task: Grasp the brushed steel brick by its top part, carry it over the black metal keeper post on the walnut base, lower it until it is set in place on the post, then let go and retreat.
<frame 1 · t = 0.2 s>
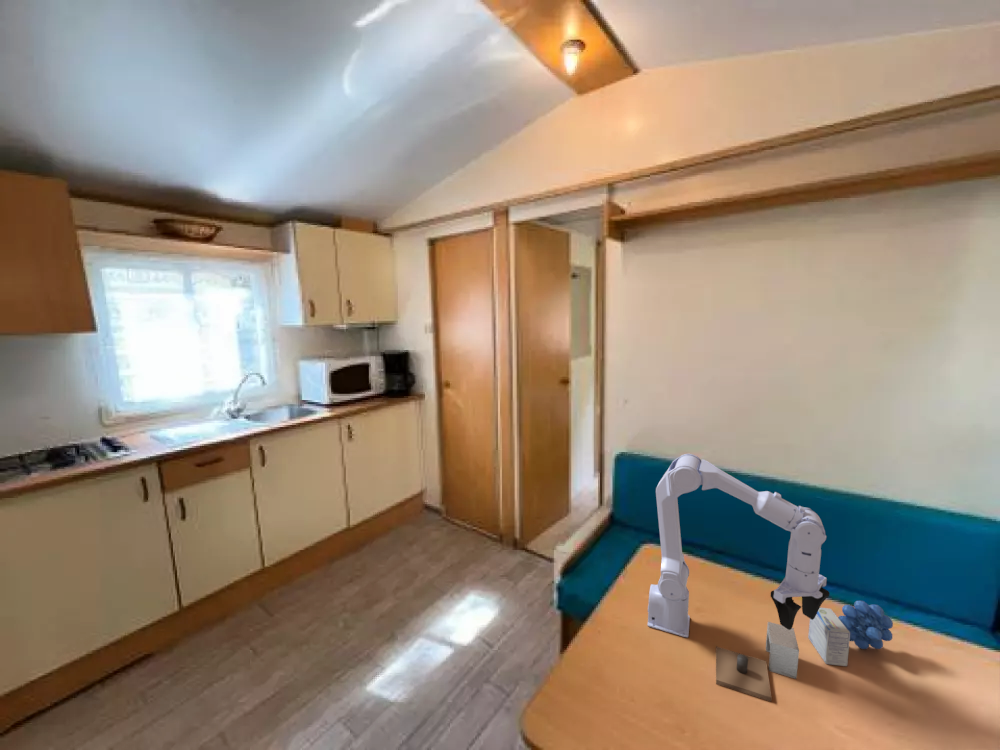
hand: (797, 621, 95), 10 cm above the table, tool pointing down, fingers open, 7 cm apart
medicine box: (826, 653, 99), on the table
brushed steel brick: (780, 663, 96), on the table
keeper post: (741, 674, 93), on the table
grapes: (865, 651, 99), on the table
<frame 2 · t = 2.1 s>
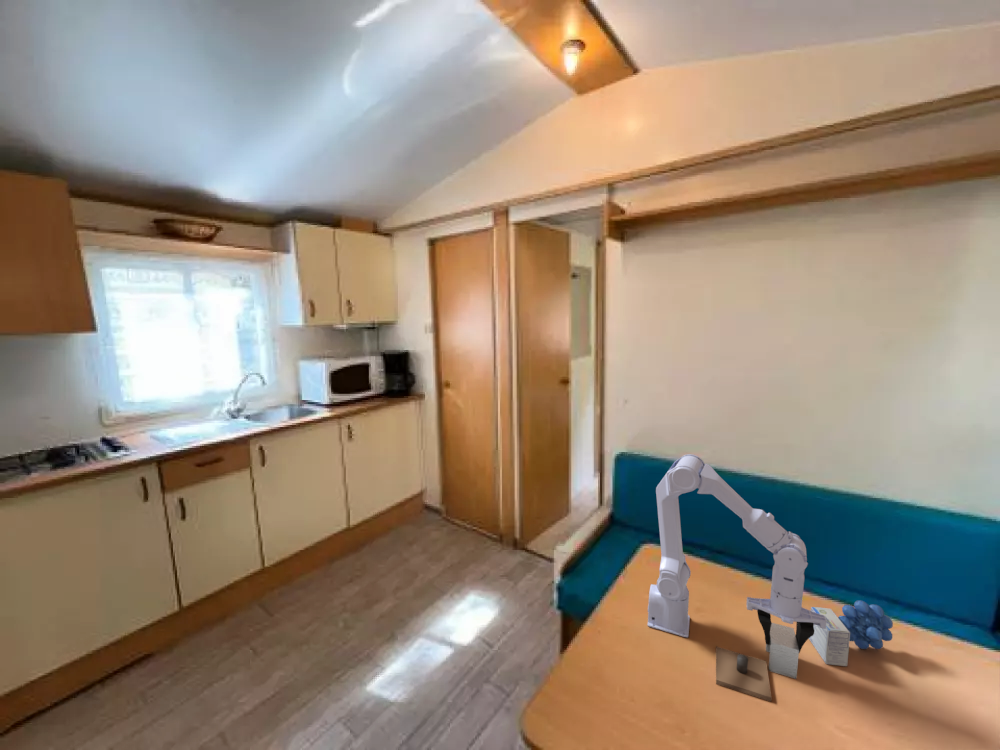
hand: (781, 645, 95), 4 cm above the table, tool pointing down, fingers closed on brushed steel brick, 5 cm apart
brushed steel brick: (780, 662, 96), on the table, touching gripper
everything else where it was.
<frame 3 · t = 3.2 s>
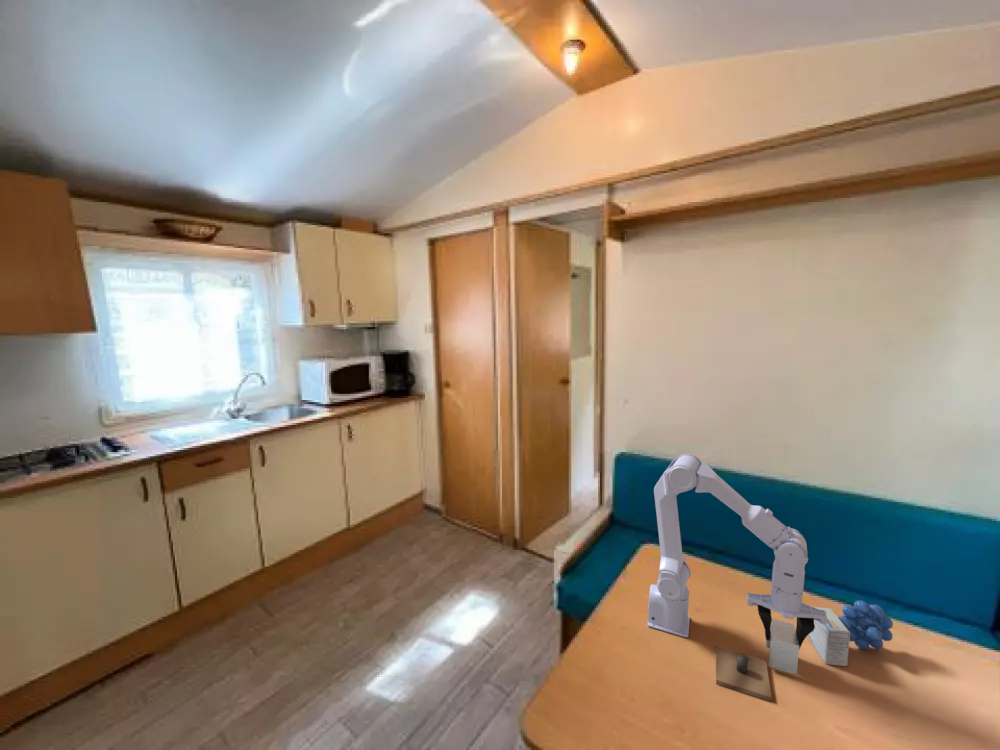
hand: (782, 641, 95), 5 cm above the table, tool pointing down, fingers closed on brushed steel brick, 5 cm apart
brushed steel brick: (780, 658, 96), point 1 cm above the table, touching gripper
everything else where it was.
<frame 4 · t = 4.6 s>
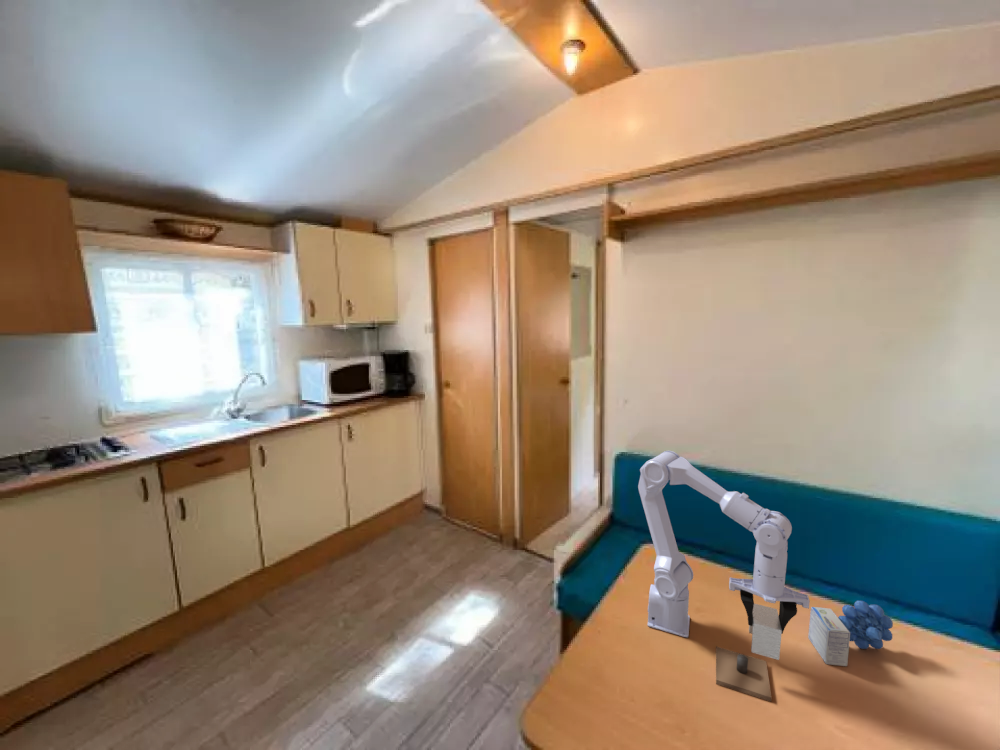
hand: (764, 626, 93), 10 cm above the table, tool pointing down, fingers closed on brushed steel brick, 5 cm apart
brushed steel brick: (763, 644, 94), point 6 cm above the table, touching gripper
everything else where it was.
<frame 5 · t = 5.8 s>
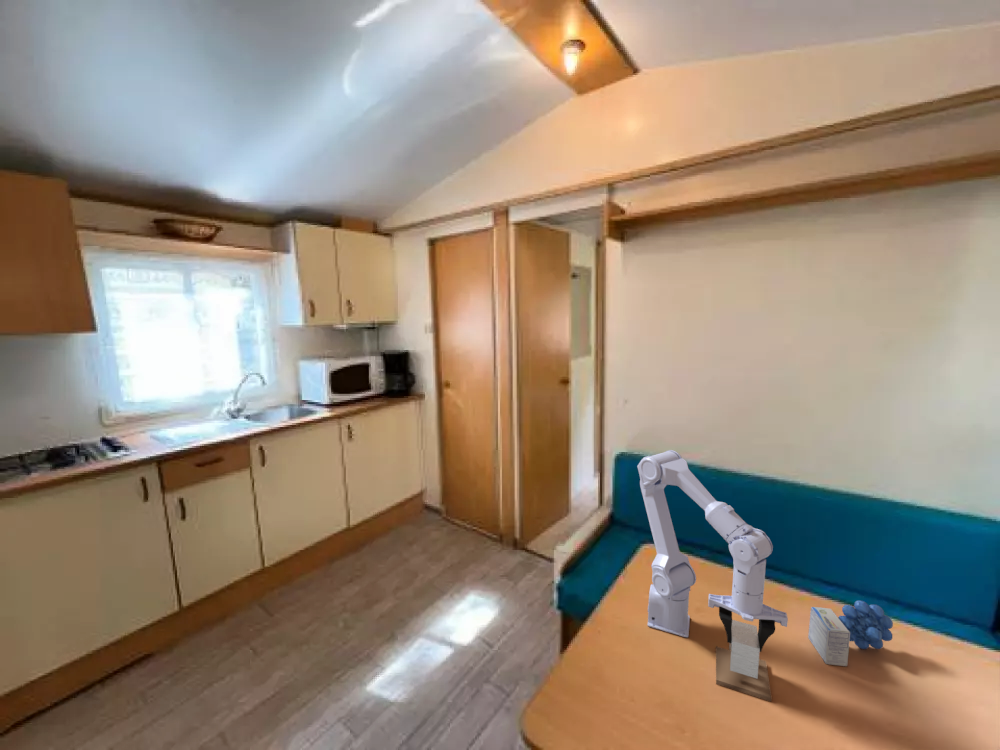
hand: (743, 644, 92), 7 cm above the table, tool pointing down, fingers closed on brushed steel brick, 5 cm apart
brushed steel brick: (742, 662, 93), point 3 cm above the table, touching gripper
everything else where it was.
when the fingers open (6 cm above the table, at t = 7.0 s): brushed steel brick stays where it is, resting on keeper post.
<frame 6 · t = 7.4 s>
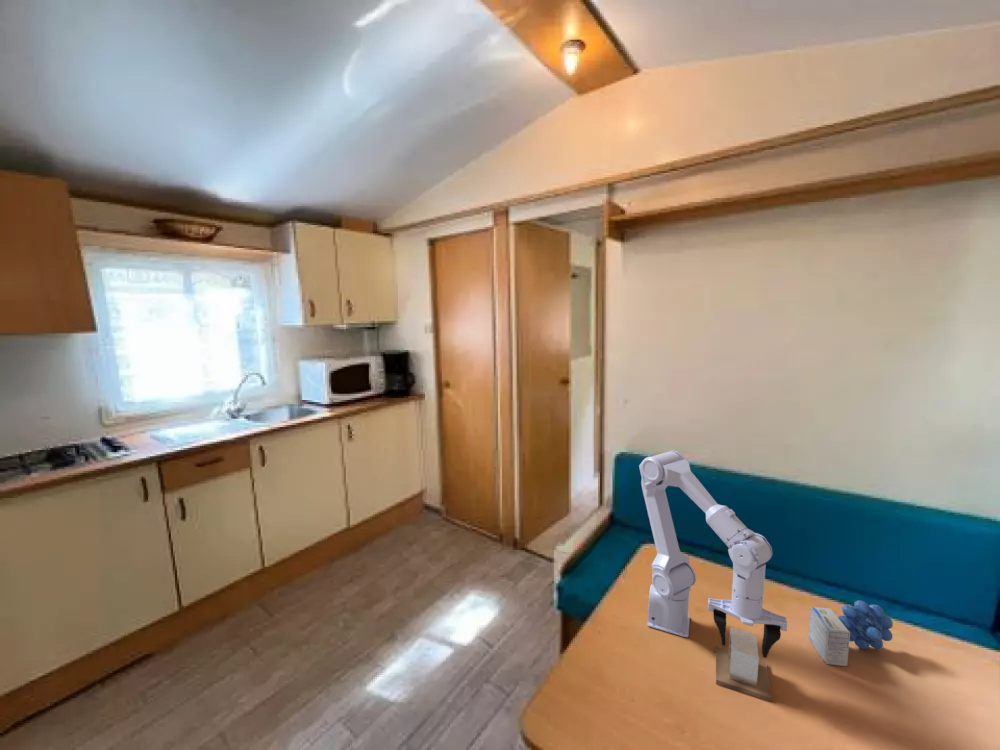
hand: (743, 648, 92), 6 cm above the table, tool pointing down, fingers open, 7 cm apart
brushed steel brick: (741, 670, 93), point 1 cm above the table, touching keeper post
everything else where it was.
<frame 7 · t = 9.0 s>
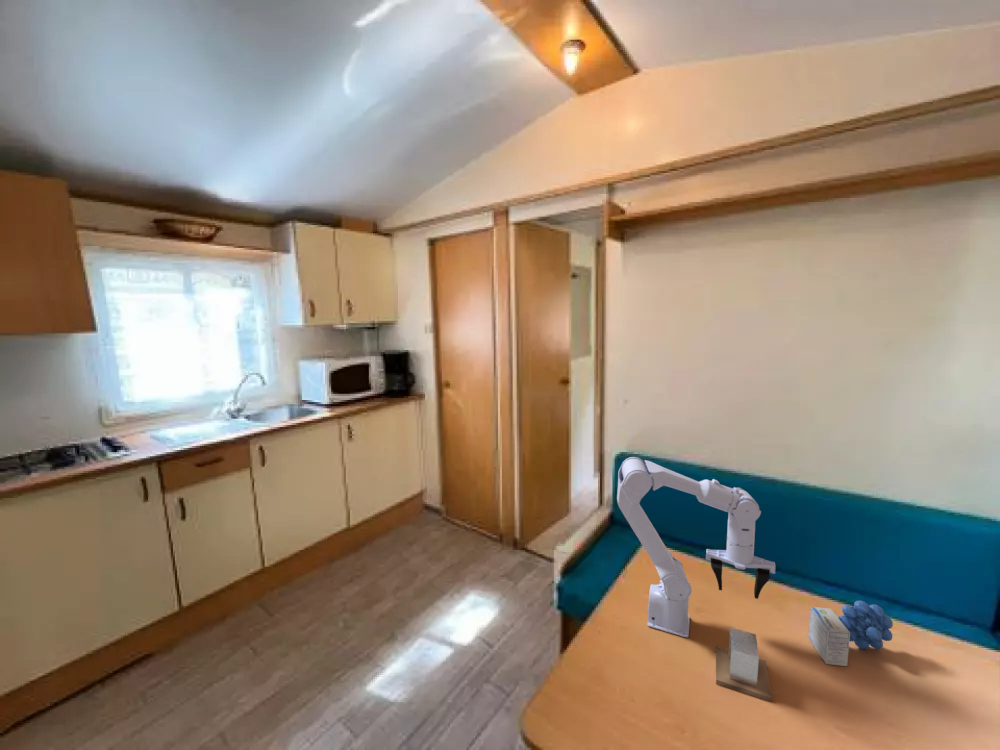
hand: (737, 591, 104), 10 cm above the table, tool pointing down, fingers open, 7 cm apart
nothing on the table moved.
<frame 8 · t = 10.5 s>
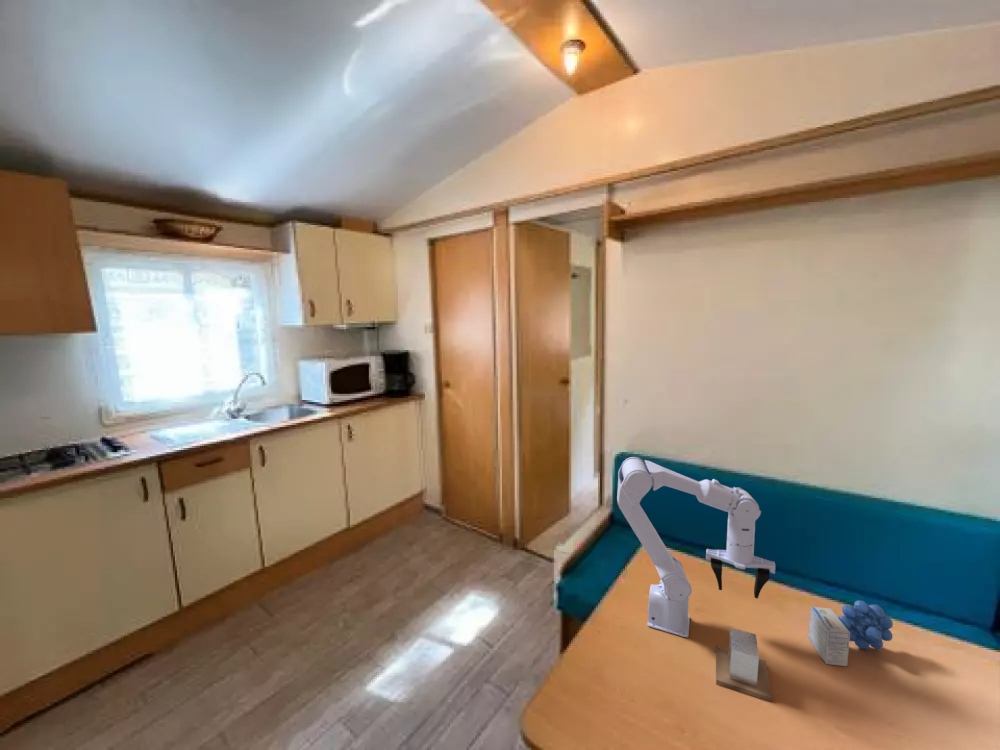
hand: (737, 591, 104), 10 cm above the table, tool pointing down, fingers open, 7 cm apart
nothing on the table moved.
at the end: brushed steel brick 0.0 cm off-centre on the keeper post, point 1.0 cm above the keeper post's base; brushed steel brick tilted 0°; the gripper is holding nothing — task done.
